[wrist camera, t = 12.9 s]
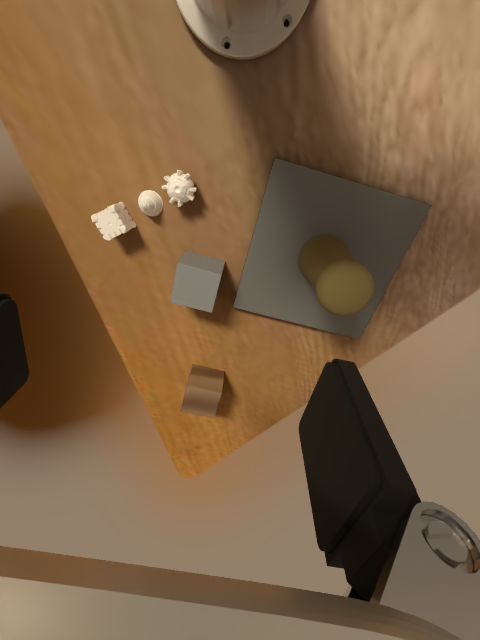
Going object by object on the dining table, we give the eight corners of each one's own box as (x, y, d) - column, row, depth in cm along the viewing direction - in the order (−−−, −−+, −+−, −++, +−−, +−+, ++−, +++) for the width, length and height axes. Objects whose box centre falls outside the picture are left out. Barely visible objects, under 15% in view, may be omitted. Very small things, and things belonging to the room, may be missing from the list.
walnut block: (193, 363, 45) (186, 385, 41) (224, 371, 46) (221, 393, 41) (187, 387, 48) (180, 411, 43) (217, 394, 48) (214, 418, 44)
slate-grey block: (186, 250, 37) (177, 262, 33) (225, 261, 38) (221, 274, 33) (179, 286, 39) (170, 302, 35) (216, 296, 40) (211, 312, 35)
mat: (274, 157, 32) (275, 157, 31) (426, 204, 33) (431, 205, 33) (233, 304, 40) (233, 307, 39) (357, 335, 42) (359, 339, 41)
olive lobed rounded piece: (357, 265, 36) (396, 303, 26) (313, 291, 38) (334, 336, 28) (333, 223, 34) (366, 248, 24) (288, 253, 36) (302, 288, 26)
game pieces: (118, 236, 37) (106, 243, 34) (102, 210, 35) (88, 215, 33) (203, 195, 34) (198, 198, 31) (189, 165, 33) (183, 165, 30)
